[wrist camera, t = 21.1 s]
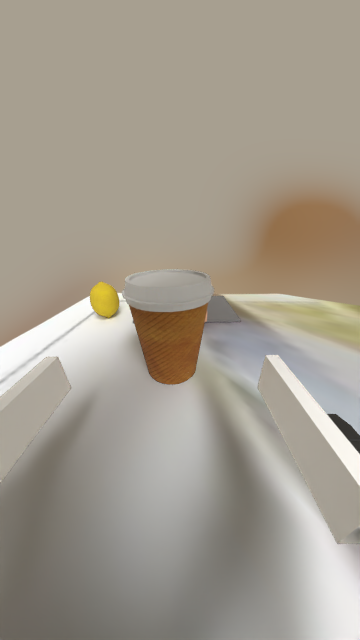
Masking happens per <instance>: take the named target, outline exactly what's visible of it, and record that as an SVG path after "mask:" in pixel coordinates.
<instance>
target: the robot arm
mask: <svg viewBox="0 0 360 640" xmlns="http://www.w3.org/2000/svg"><path fill="white" fill-rule="evenodd" d="M70 389H71V386H70V384H69V381H68V379H67V377H66V374H65V372H64V369H63V367H62V365H61V362H60V360H59V358H58V357H46V358H45V359H43V360H42V361H41V362H40V363H39V364H38V365H37V366H35V367H34V368H33V369H32V370H31V371H30V372H28V373H27V374H26V375H25V376H24V377H23V378H22V379H20V380H19V381H18V382H17V383H16V384H15V385H14V386H12V387H11V388H10V389H9V390H8V391H7V392H5V393H4V394H3V395H2V396H1V397H0V483H1V482H2V481H3V479H4V478H5V477H6V475H7V474H8V472H9V471H10V470H11V468H12V467H13V466H14V464H15V463H16V462H17V460H18V459H19V458H20V456H21V455H22V454H23V452H24V451H25V450H26V448H27V447H28V446H29V444H30V443H31V442H32V440H33V439H34V437H35V436H36V435H37V433H38V432H39V431H40V429H41V428H42V427H43V425H44V424H45V423H46V421H47V420H48V419H49V417H50V416H51V415H52V413H53V412H54V411H55V409H56V408H57V407H58V405H59V404H60V402H61V401H62V400H63V398H64V397H65V396H66V394H67V393H68V392H69V390H70ZM258 389H259V391H260V393H261V395H262V397H263V399H264V401H265V403H266V405H267V407H268V409H269V411H270V413H271V415H272V417H273V419H274V421H275V423H276V425H277V427H278V429H279V431H280V432H281V434H282V436H283V438H284V440H285V442H286V444H287V446H288V448H289V450H290V452H291V454H292V456H293V458H294V460H295V462H296V464H297V466H298V468H299V470H300V472H301V474H302V476H303V478H304V480H305V482H306V484H307V486H308V488H309V490H310V491H311V493H312V495H313V497H314V499H315V501H316V503H317V505H318V507H319V509H320V511H321V513H322V515H323V517H324V519H325V521H326V523H327V525H328V527H329V529H330V531H331V533H332V535H333V537H334V539H335V541H336V543H337V544H360V435H359V434H358V433H357V432H356V431H355V430H354V429H353V428H352V426H351V425H349V424H348V423H347V422H345V421H344V420H343V419H342V418H340V417H339V416H338V415H336V414H326V413H325V411H324V410H323V409H322V408H321V407H320V405H319V404H318V403H317V402H316V401H315V399H314V398H313V397H312V396H311V395H310V393H309V392H308V391H307V390H306V388H305V387H304V386H303V385H302V384H301V382H300V381H299V380H298V379H297V378H296V376H295V375H294V374H293V373H292V371H291V370H290V369H289V368H288V367H287V365H286V364H285V363H284V362H283V361H282V359H281V358H280V357H279V356H278V355H266V356H265V360H264V363H263V367H262V371H261V375H260V379H259V383H258Z"/></svg>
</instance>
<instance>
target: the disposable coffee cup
mask: <svg viewBox="0 0 360 640" xmlns="http://www.w3.org/2000/svg"><path fill="white" fill-rule="evenodd" d="M213 293H214V288H213V286H212V285H211V279H210V276H209V275H208V274H206V273H203V272H199V271H193V270H177V269H176V270H175V269H173V270H172V269H171V270H170V269H169V270H153V271H146V272H140V273H136V274H133V275H130V276H128V277H127V278H125V289H123V291H122V295H123V298H125V299H126V302H127V304H129V307H130V310H131V313H132V317H133V320H134V323H135V327H136V330H137V333H138V337H139V340H140V343H141V347H142V350H143V354H144V357H145V360H146V364H147V367H148V370H149V374H150V375H151V377H152V378H153V379H154V380H156V381H158V382H160V383H163V384H179V383H182V382H185V381H187V380H188V379H189V378H191V377H192V376H193V374H194V373H195V370H196V364H197V359H198V354H199V349H200V344H201V338H202V333H203V328H204V323H205V318H206V313H207V307H208V302H209V301H210V299H211V296H212V295H213Z"/></svg>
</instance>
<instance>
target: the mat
mask: <svg viewBox="0 0 360 640" xmlns="http://www.w3.org/2000/svg"><path fill="white" fill-rule="evenodd" d="M207 322H241V320H240V318H239V317H238V316H237V314H236V313H235V311H234V310H233V309H232V307H231V306H230V305H229V303H228V302H227V301H226V299H225V298H224V296H211V299H210V301H209V302H208V307H207ZM133 323H134V320H133Z"/></svg>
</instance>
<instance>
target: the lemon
mask: <svg viewBox="0 0 360 640" xmlns="http://www.w3.org/2000/svg"><path fill="white" fill-rule="evenodd" d="M90 302H91V306H92V308H93V309H94V311H95V312H96V313H97V314H99V315H101V316H105V317H107V318H110V317H111V316H112V315H113V314H115V313H116V311H117V310H118V308H119V297H118V294H117V292H116V291H115V289H114V288H113V287H112V286H110V285H108V284H106V283H103V282H99V283H98V284H97V285H95V286H94V287H93V288H92V290H91V292H90Z"/></svg>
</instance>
